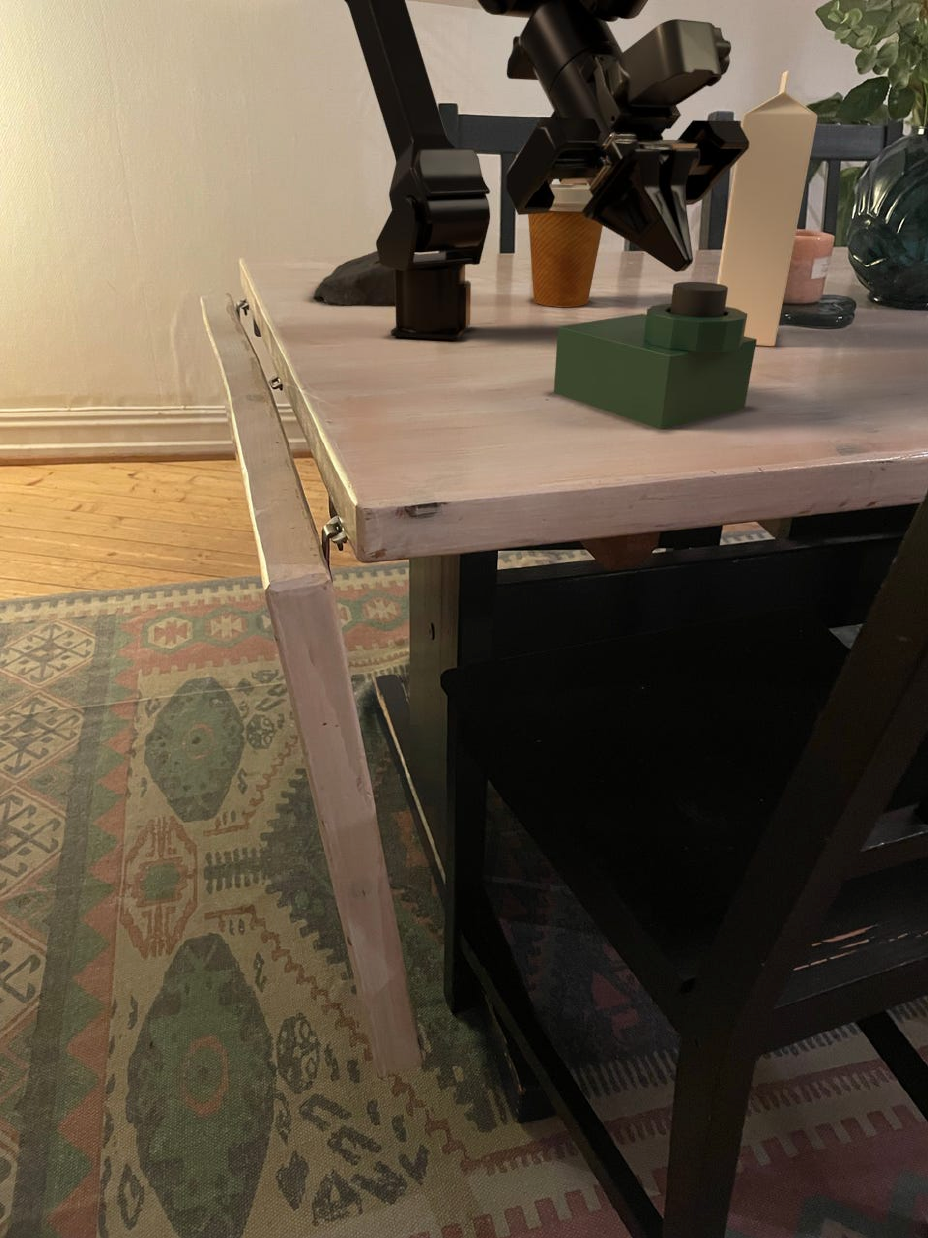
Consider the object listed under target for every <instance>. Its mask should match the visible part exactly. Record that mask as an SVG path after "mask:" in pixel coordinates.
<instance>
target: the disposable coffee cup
mask: <svg viewBox="0 0 928 1238" xmlns="http://www.w3.org/2000/svg"><path fill="white" fill-rule="evenodd" d="M550 188H551V190H552V192H553V194H554V196H555V199H554V202H553V204H552V207H551V209H550V210H549V211H548V213H543V214H527V219H528V220H527V221H528V232H529V233H528V235H529V249H530V260H531V261H530V263H531V279H532V281H531V282H532V294H533V302H534V303H535V304H538V305H541V306H547V307H548V306H549V307H557V308H559V307H561V308H571V307H581V306H585V305H587V304H588V303H589V299H590V293H591V288H592V283H593V282H592V281H593V278H594V274H595V269H596V262H597V259H598V258H597V257H598V253H599V248H600V244H601V238H602V233H603V227H604V226H603V225H601V224H599V223H598V222H596V221H594V220H587V219H585V218H584V217H583V215H582V210H583V209H584V207H585V206H586V205H587V203H588V202H589V201H590V199H591V198H592V197H591V195H590V193H589V191H588V189H589V188H590V187H589V185H588V184H560V183H558V184H556V183H554V184H553V183H551V184H550Z"/></svg>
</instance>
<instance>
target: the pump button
mask: <svg viewBox="0 0 928 1238" xmlns="http://www.w3.org/2000/svg"><path fill="white" fill-rule="evenodd" d="M727 292H728V287H727V286H724V285H721V284H717V282H716V283H714V282H708V281H707V282H706V281H681V282H676V283H674V284H673V285H672V293H671V300H670V303H671V308H670V313H671V314H675V315H680V316H686V317H697V318H716V317H722V316H724V311H725V305H726V299H727Z"/></svg>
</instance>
